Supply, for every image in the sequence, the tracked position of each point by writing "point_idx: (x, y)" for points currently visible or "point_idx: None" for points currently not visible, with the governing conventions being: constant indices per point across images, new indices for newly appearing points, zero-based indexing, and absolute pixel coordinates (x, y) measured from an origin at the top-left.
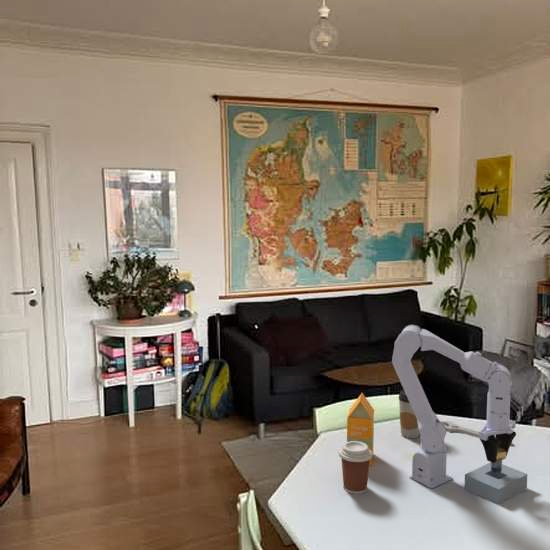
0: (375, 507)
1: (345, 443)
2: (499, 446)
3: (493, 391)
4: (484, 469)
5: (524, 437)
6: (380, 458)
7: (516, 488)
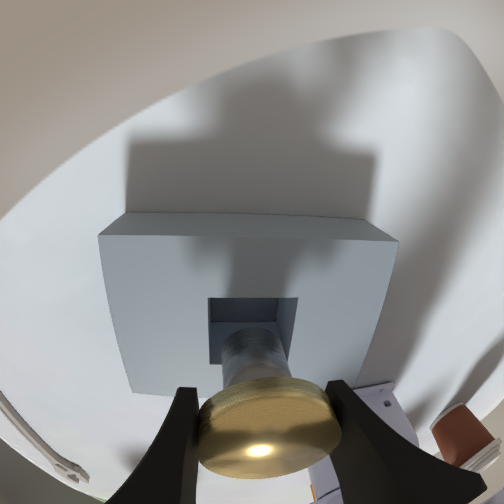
0: (490, 361)
1: None
2: (195, 470)
3: None
4: None
5: None
6: None
7: (218, 220)
